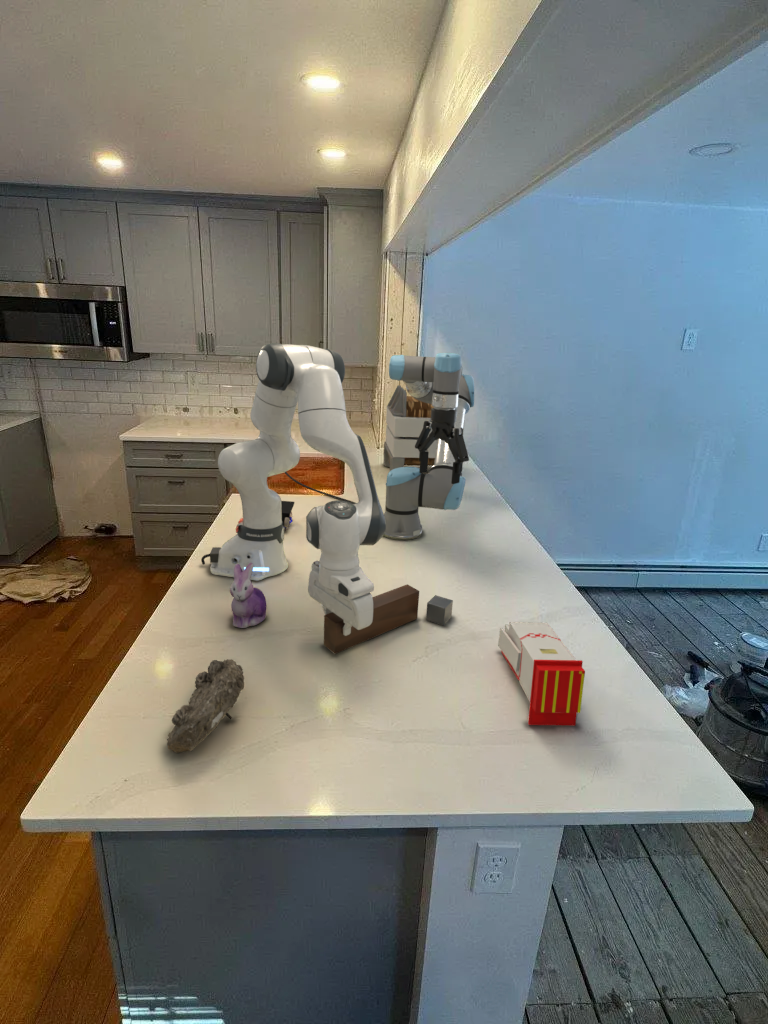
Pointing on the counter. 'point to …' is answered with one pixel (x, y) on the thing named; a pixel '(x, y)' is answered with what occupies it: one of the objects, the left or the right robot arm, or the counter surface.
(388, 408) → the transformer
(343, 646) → the walnut plank
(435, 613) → the slate block
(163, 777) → the counter surface
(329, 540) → the left robot arm
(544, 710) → the toy
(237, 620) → the figurine
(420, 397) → the right robot arm
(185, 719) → the fossil
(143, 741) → the counter surface
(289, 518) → the figurine character
